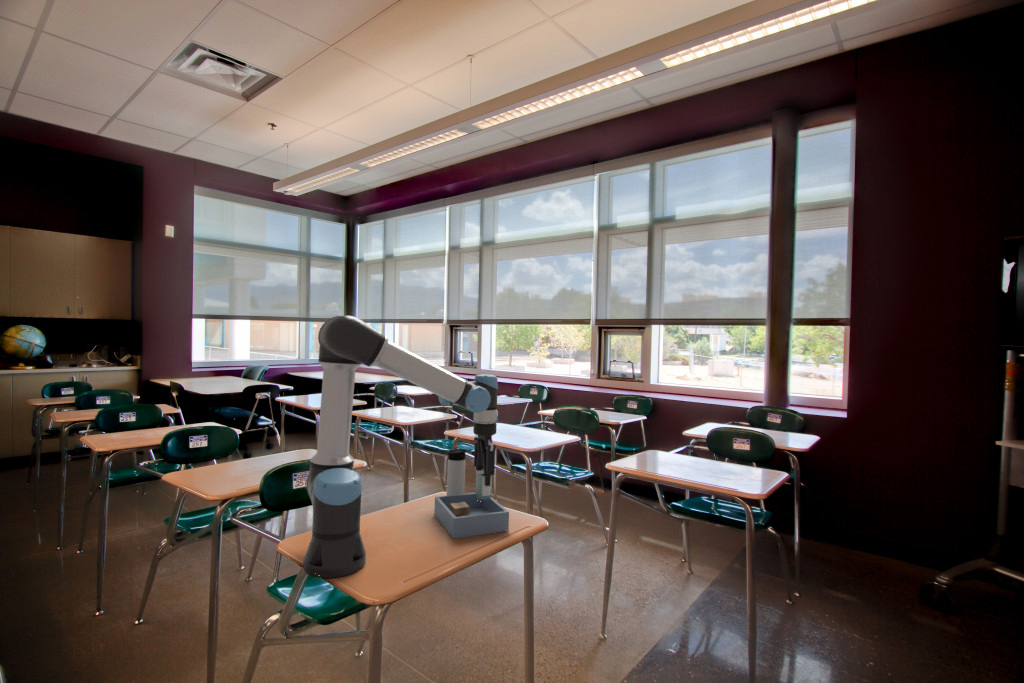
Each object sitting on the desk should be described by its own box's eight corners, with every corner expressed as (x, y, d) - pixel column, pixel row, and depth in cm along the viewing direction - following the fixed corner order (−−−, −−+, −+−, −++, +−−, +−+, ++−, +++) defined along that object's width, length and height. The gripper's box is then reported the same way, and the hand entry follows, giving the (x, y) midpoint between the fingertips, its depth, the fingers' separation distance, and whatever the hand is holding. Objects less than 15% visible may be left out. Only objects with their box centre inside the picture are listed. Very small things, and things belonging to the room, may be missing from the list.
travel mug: (463, 508, 171) (465, 451, 171) (444, 507, 171) (446, 450, 171) (465, 502, 177) (467, 447, 177) (447, 501, 177) (449, 446, 177)
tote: (453, 538, 145) (453, 518, 145) (434, 514, 164) (434, 496, 164) (508, 530, 153) (509, 511, 153) (484, 508, 172) (484, 491, 172)
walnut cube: (454, 524, 154) (454, 508, 154) (449, 518, 158) (449, 503, 158) (469, 522, 156) (469, 506, 156) (464, 517, 160) (464, 501, 160)
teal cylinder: (483, 500, 157) (483, 479, 157) (472, 497, 160) (473, 475, 160) (494, 497, 160) (494, 475, 160) (483, 493, 164) (484, 472, 164)
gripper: (506, 426, 153) (504, 500, 154) (485, 416, 170) (483, 483, 170) (484, 427, 150) (482, 502, 150) (465, 417, 167) (463, 485, 167)
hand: (483, 492), depth 160 cm, fingers closed on teal cylinder, 5 cm apart
